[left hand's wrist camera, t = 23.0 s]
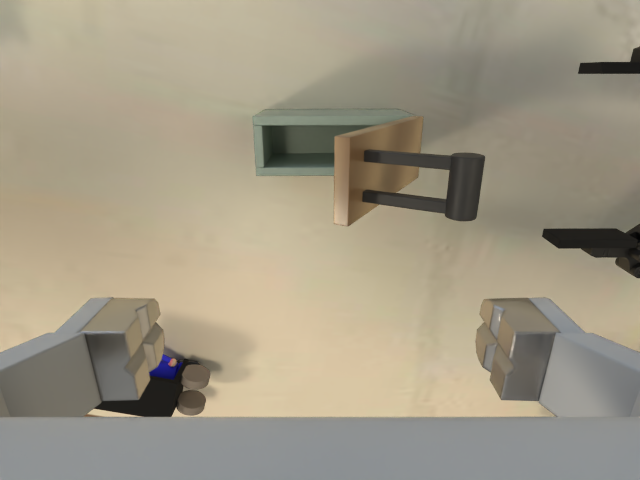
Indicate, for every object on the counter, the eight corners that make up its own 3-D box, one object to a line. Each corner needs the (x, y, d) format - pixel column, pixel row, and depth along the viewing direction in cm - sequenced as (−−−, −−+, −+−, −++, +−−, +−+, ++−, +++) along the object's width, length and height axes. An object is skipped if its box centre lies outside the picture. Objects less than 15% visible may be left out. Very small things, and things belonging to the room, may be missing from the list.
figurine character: (216, 347, 57) (101, 331, 54) (208, 385, 50) (77, 370, 48) (208, 384, 60) (98, 371, 57) (200, 426, 53) (75, 413, 50)
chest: (267, 159, 47) (256, 176, 39) (264, 109, 45) (252, 116, 37) (395, 158, 47) (411, 175, 38) (398, 108, 45) (416, 115, 37)
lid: (333, 224, 26) (466, 247, 22) (334, 136, 24) (480, 145, 20) (407, 176, 38) (500, 186, 35) (412, 115, 36) (511, 119, 33)
